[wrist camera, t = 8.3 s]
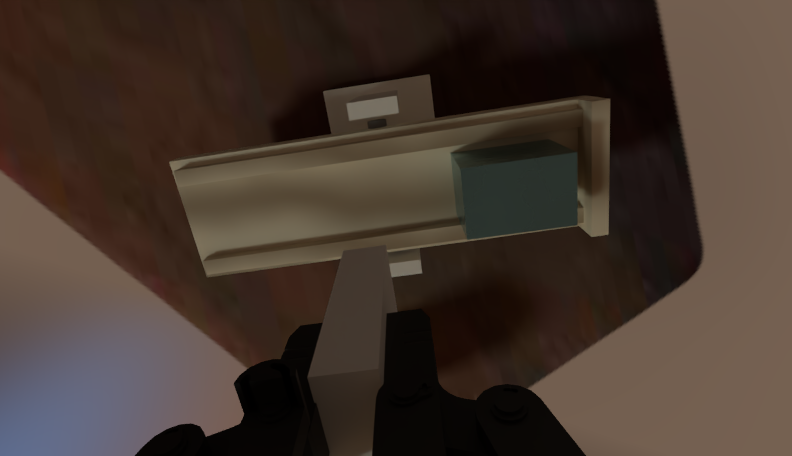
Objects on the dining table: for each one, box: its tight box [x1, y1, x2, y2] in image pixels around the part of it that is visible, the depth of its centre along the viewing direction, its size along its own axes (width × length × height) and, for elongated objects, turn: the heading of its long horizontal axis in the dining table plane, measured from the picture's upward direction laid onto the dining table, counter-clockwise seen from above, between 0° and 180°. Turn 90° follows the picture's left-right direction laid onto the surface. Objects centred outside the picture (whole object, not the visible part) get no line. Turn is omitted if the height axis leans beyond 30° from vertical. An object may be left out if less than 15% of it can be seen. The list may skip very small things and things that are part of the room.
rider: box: [450, 139, 578, 240], centre depth 26 cm, size 4×6×4 cm, turn 98°
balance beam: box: [169, 95, 610, 277], centre depth 29 cm, size 9×26×6 cm, turn 99°
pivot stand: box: [323, 74, 435, 277], centre depth 32 cm, size 13×8×9 cm, turn 9°
